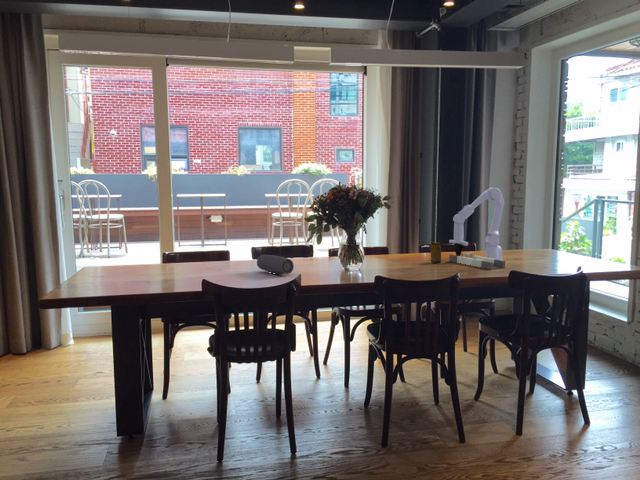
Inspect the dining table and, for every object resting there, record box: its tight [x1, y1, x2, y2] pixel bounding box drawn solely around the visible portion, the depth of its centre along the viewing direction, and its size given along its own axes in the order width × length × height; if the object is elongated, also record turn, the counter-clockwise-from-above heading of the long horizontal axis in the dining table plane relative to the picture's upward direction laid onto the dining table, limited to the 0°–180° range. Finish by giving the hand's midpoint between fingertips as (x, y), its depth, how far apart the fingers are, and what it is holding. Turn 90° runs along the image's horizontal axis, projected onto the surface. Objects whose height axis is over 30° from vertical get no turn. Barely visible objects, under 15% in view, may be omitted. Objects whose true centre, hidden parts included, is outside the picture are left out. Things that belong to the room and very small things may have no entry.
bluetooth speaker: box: [256, 254, 294, 275], centre depth 295 cm, size 23×9×10 cm, turn 42°
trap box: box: [448, 252, 506, 271], centre depth 315 cm, size 11×34×4 cm, turn 27°
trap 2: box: [492, 266, 504, 270], centre depth 304 cm, size 8×7×1 cm
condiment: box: [428, 241, 447, 265], centre depth 323 cm, size 7×8×12 cm
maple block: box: [462, 251, 476, 259], centre depth 320 cm, size 5×5×4 cm
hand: (458, 256), depth 329 cm, fingers closed
